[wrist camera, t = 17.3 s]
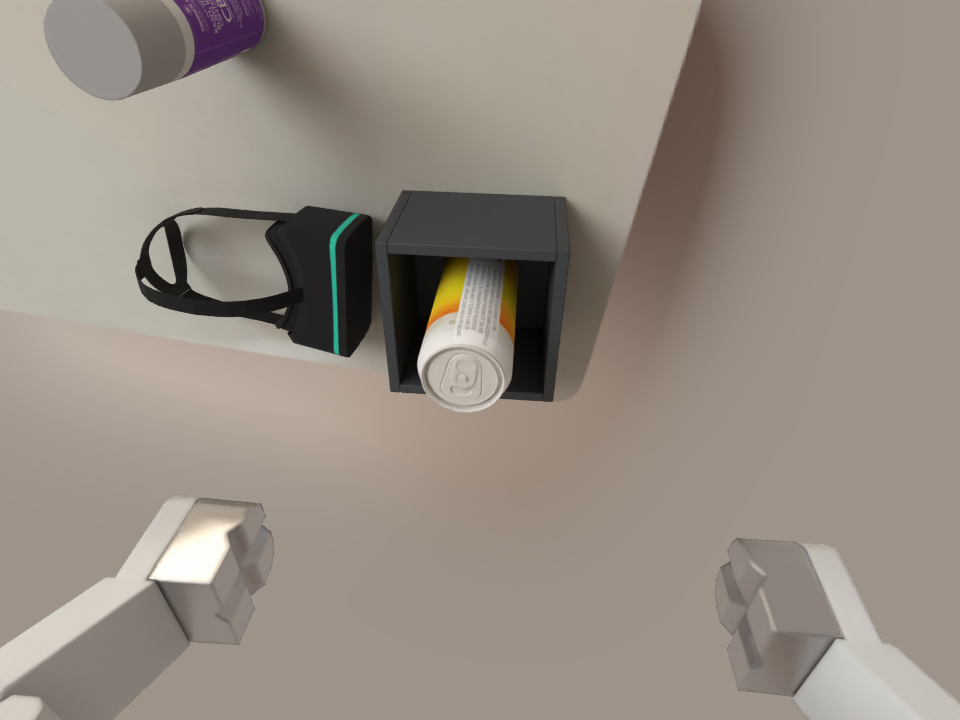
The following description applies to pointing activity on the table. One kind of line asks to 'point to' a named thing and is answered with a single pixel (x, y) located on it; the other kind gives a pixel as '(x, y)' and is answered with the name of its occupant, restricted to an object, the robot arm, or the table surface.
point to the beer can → (470, 334)
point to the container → (147, 40)
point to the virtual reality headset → (287, 276)
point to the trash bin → (475, 234)
